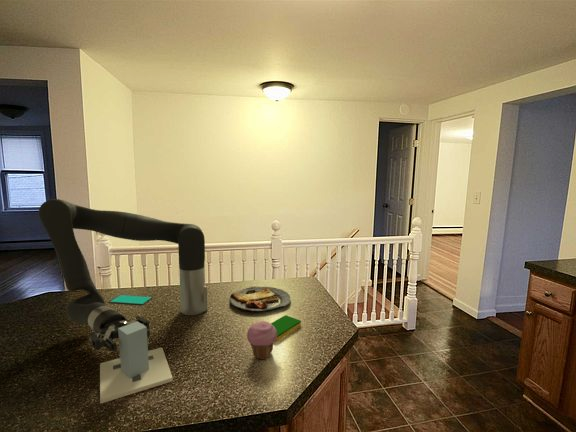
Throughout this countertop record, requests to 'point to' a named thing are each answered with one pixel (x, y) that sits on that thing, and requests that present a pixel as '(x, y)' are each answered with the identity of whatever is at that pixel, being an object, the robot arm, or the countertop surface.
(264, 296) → the food plate
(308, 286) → the countertop surface
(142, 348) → the grey rectangular block
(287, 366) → the countertop surface
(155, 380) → the board
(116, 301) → the smartphone
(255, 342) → the cupcake
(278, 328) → the dish sponge
